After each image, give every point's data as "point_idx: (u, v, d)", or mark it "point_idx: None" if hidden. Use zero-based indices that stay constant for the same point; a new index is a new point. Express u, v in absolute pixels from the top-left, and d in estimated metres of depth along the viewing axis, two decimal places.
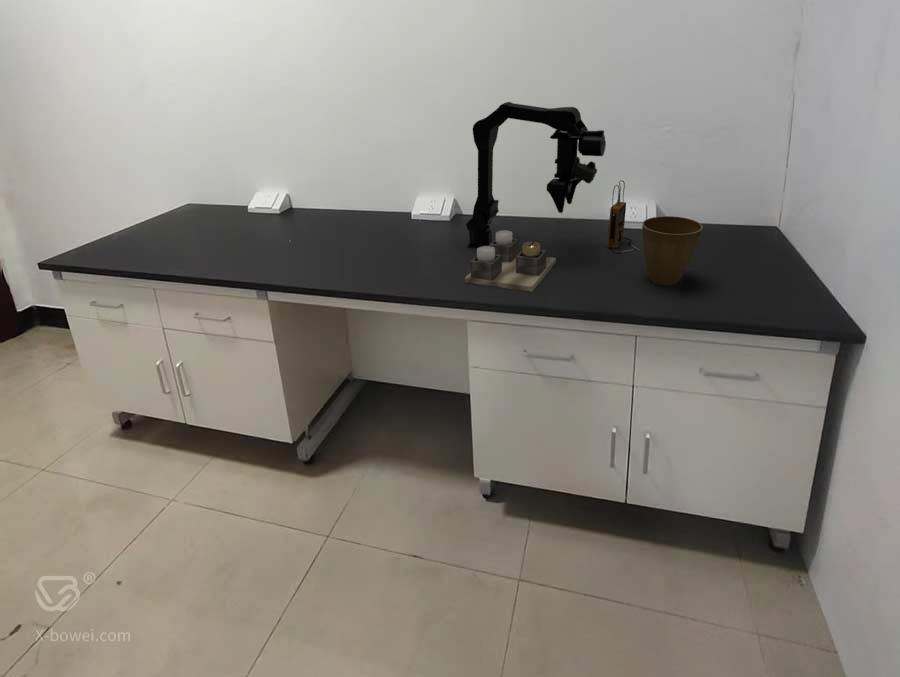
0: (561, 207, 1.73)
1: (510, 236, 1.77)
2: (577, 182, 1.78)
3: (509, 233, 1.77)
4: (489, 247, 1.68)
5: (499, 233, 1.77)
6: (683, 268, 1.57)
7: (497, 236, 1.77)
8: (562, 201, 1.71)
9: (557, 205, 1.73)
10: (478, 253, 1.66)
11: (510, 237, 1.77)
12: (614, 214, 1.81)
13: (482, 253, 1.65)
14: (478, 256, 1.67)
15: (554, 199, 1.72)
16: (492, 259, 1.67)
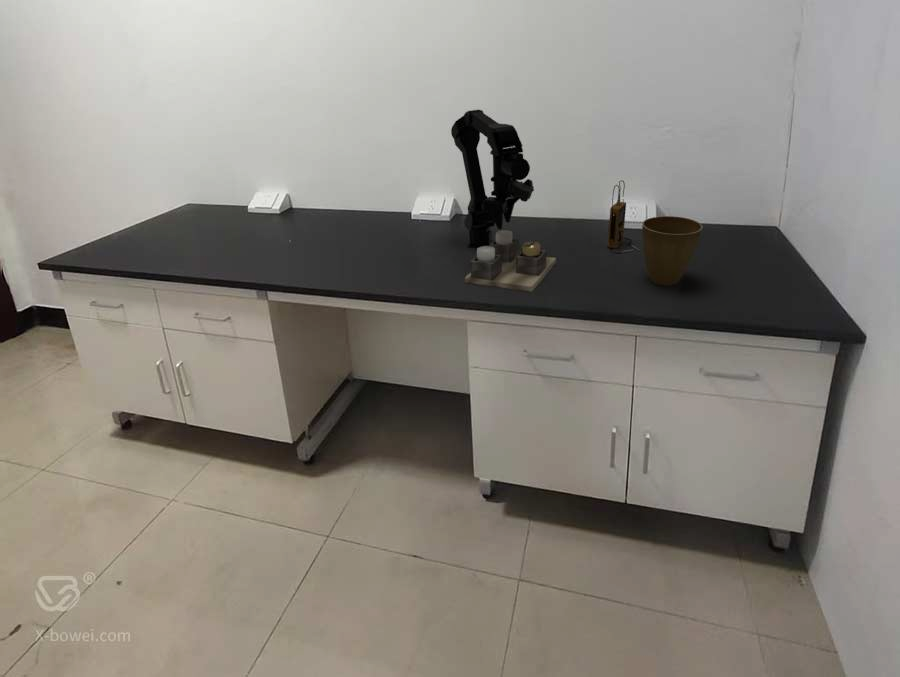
0: (500, 224, 1.73)
1: (510, 236, 1.77)
2: (514, 201, 1.76)
3: (509, 233, 1.77)
4: (489, 247, 1.68)
5: (499, 233, 1.77)
6: (683, 268, 1.57)
7: (497, 236, 1.77)
8: (500, 218, 1.71)
9: (496, 221, 1.73)
10: (478, 253, 1.66)
11: (510, 237, 1.77)
12: (614, 214, 1.81)
13: (482, 253, 1.65)
14: (478, 256, 1.67)
15: (493, 216, 1.72)
16: (492, 259, 1.67)
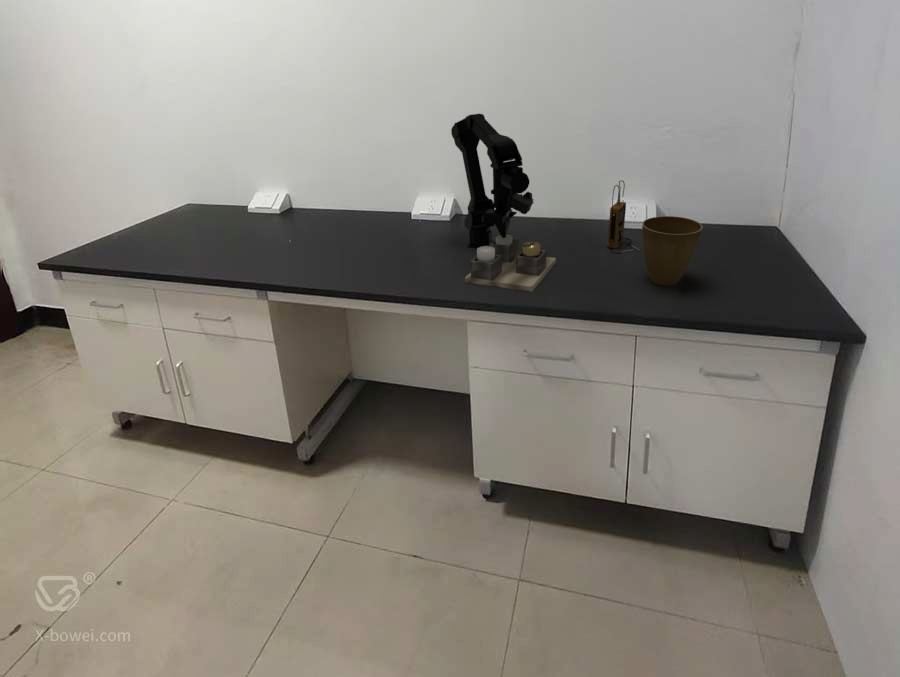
0: (504, 232, 1.77)
1: (510, 240, 1.77)
2: (511, 216, 1.75)
3: (509, 237, 1.78)
4: (489, 247, 1.68)
5: (500, 238, 1.78)
6: (683, 268, 1.57)
7: (497, 240, 1.77)
8: (504, 227, 1.75)
9: (500, 230, 1.77)
10: (478, 253, 1.66)
11: (510, 241, 1.77)
12: (614, 214, 1.81)
13: (482, 253, 1.65)
14: (478, 256, 1.67)
15: (496, 225, 1.76)
16: (492, 259, 1.67)
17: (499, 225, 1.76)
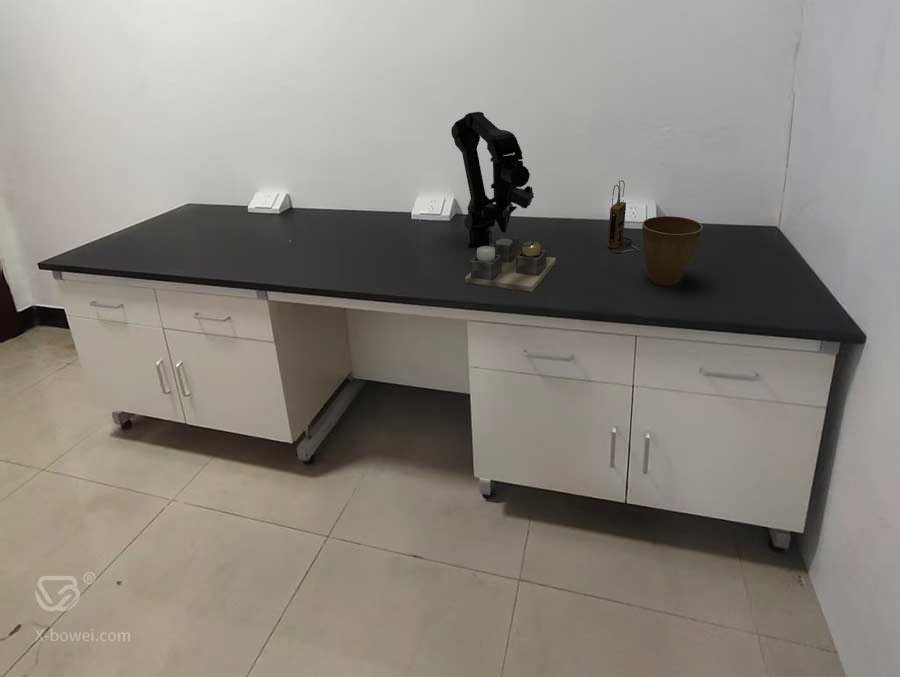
0: (504, 227, 1.76)
1: (510, 244, 1.78)
2: (511, 210, 1.74)
3: (509, 241, 1.78)
4: (489, 247, 1.68)
5: (500, 242, 1.79)
6: (683, 268, 1.57)
7: None
8: (504, 221, 1.74)
9: (500, 224, 1.76)
10: (478, 253, 1.66)
11: None
12: (614, 214, 1.81)
13: (482, 253, 1.65)
14: (478, 256, 1.67)
15: (497, 219, 1.75)
16: (492, 259, 1.67)
17: (499, 220, 1.75)
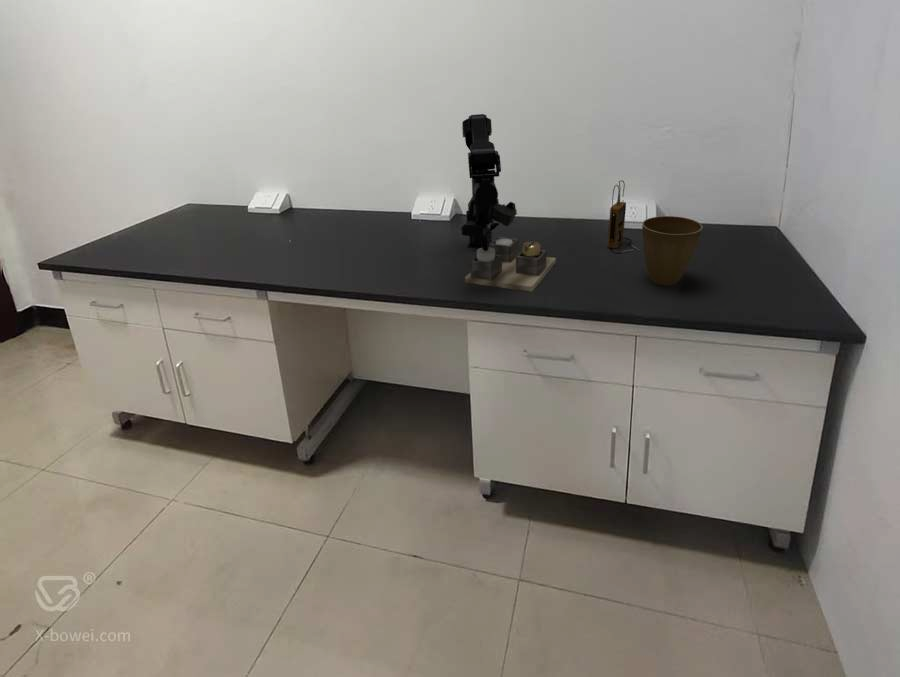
0: (485, 245, 1.65)
1: (510, 244, 1.78)
2: (493, 227, 1.64)
3: (509, 241, 1.78)
4: (489, 248, 1.68)
5: (500, 242, 1.79)
6: (683, 268, 1.57)
7: None
8: (486, 239, 1.64)
9: (481, 242, 1.65)
10: (478, 254, 1.66)
11: None
12: (614, 214, 1.81)
13: (482, 254, 1.65)
14: (478, 257, 1.67)
15: (477, 237, 1.64)
16: (492, 260, 1.67)
17: (480, 237, 1.64)
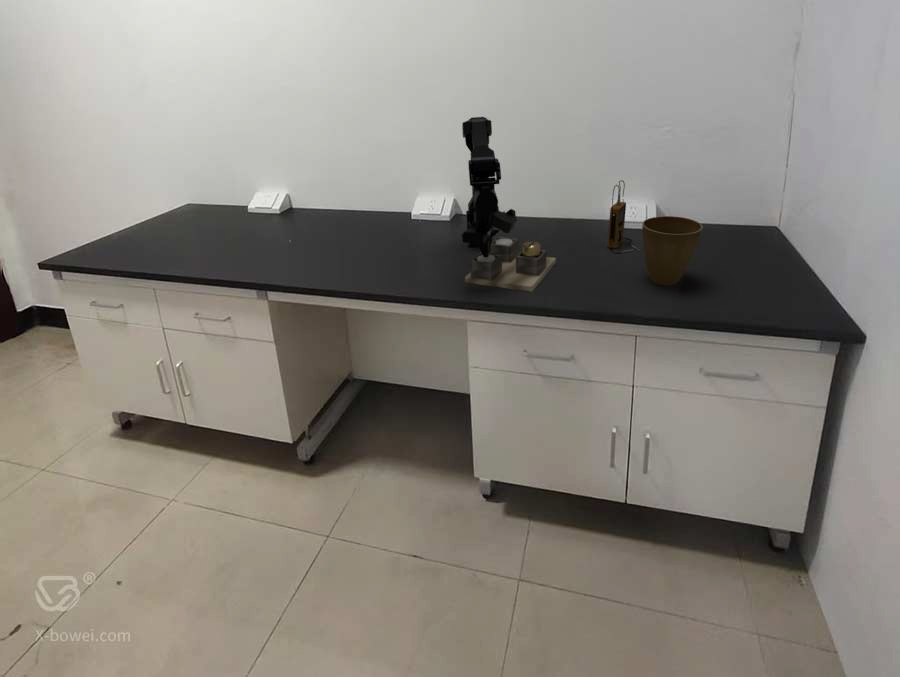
0: (485, 252, 1.66)
1: (510, 244, 1.78)
2: (493, 234, 1.65)
3: (509, 241, 1.78)
4: (489, 256, 1.69)
5: (500, 242, 1.79)
6: (683, 268, 1.57)
7: None
8: (486, 246, 1.65)
9: (482, 249, 1.66)
10: None
11: None
12: (614, 214, 1.81)
13: (482, 261, 1.66)
14: None
15: (478, 244, 1.65)
16: None
17: (481, 244, 1.65)
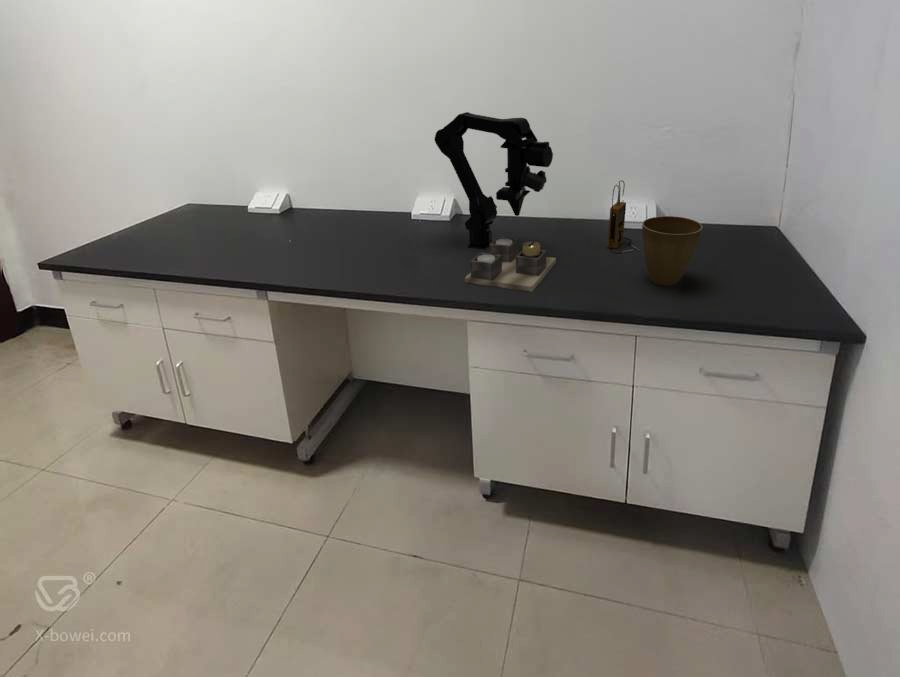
0: (517, 210, 1.81)
1: (510, 244, 1.78)
2: None
3: (509, 241, 1.78)
4: (489, 256, 1.69)
5: (500, 242, 1.79)
6: (683, 268, 1.57)
7: None
8: (517, 205, 1.80)
9: (513, 208, 1.81)
10: None
11: None
12: (614, 214, 1.81)
13: (482, 261, 1.66)
14: None
15: (510, 203, 1.80)
16: None
17: (513, 203, 1.80)
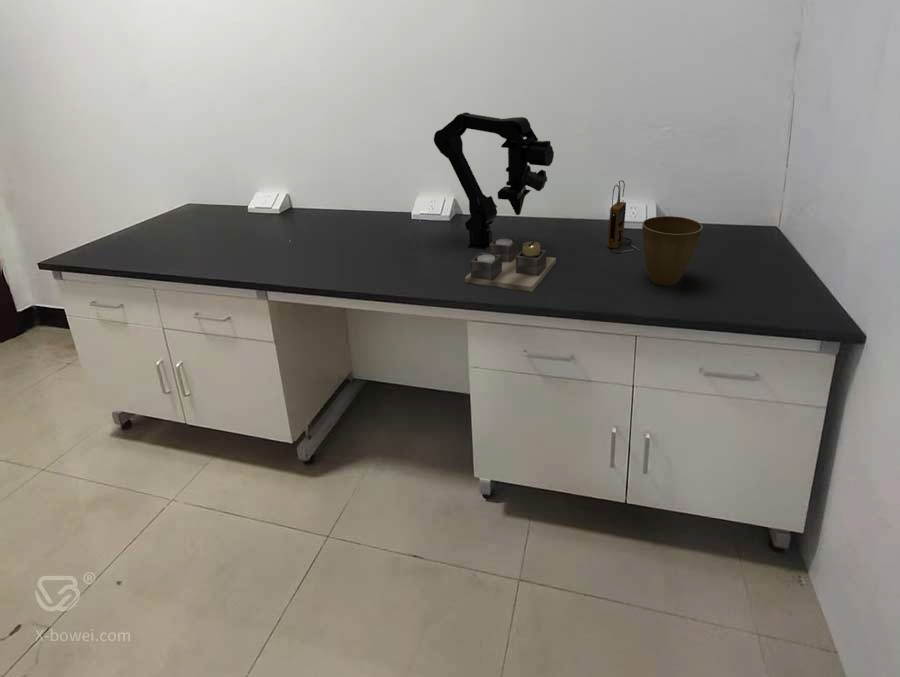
0: (518, 210, 1.82)
1: (510, 244, 1.78)
2: (525, 193, 1.80)
3: (509, 241, 1.78)
4: (489, 256, 1.69)
5: (500, 242, 1.79)
6: (683, 268, 1.57)
7: None
8: (518, 204, 1.80)
9: (514, 207, 1.82)
10: None
11: None
12: (614, 214, 1.81)
13: (482, 261, 1.66)
14: None
15: (511, 202, 1.81)
16: None
17: (513, 202, 1.81)
